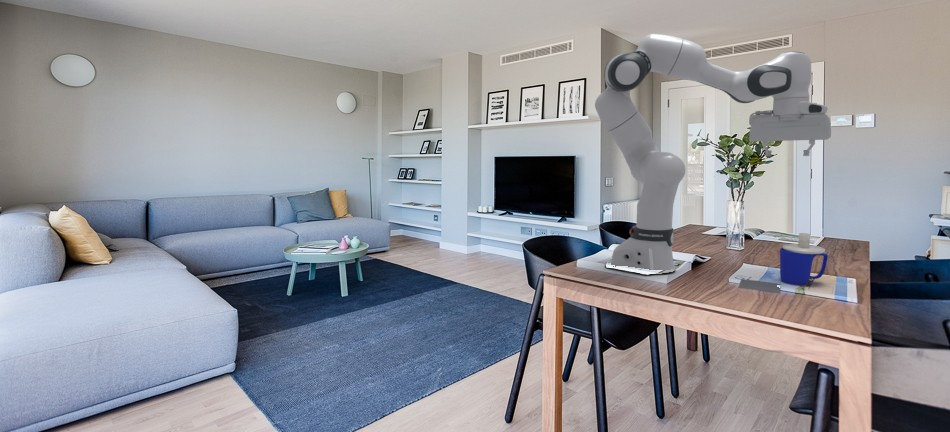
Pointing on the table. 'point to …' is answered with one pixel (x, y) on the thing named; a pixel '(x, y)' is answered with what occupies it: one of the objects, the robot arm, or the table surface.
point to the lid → (804, 246)
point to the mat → (759, 285)
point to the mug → (798, 267)
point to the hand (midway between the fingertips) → (786, 156)
